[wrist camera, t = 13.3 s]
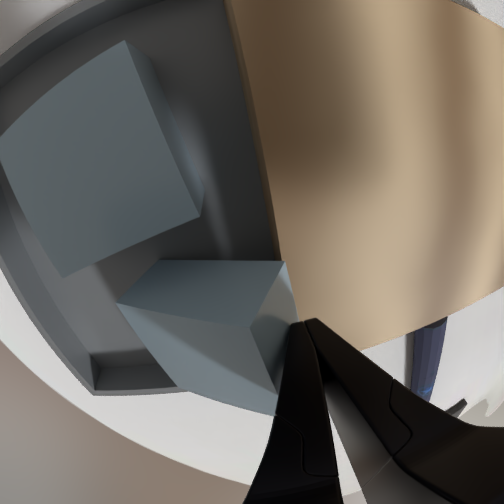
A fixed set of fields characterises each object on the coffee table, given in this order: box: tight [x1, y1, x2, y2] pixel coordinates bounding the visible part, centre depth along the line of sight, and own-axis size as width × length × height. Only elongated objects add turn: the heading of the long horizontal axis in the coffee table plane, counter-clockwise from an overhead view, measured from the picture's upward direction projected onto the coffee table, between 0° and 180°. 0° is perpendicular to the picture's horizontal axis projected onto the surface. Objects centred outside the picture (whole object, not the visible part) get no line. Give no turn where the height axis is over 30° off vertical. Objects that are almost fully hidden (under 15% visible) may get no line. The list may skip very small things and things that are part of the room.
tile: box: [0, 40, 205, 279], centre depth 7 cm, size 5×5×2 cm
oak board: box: [223, 0, 504, 351], centre depth 8 cm, size 15×14×2 cm
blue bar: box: [411, 316, 467, 418], centre depth 21 cm, size 34×2×12 cm
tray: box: [0, 0, 275, 396], centre depth 9 cm, size 11×16×2 cm
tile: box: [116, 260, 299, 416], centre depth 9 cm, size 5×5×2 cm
